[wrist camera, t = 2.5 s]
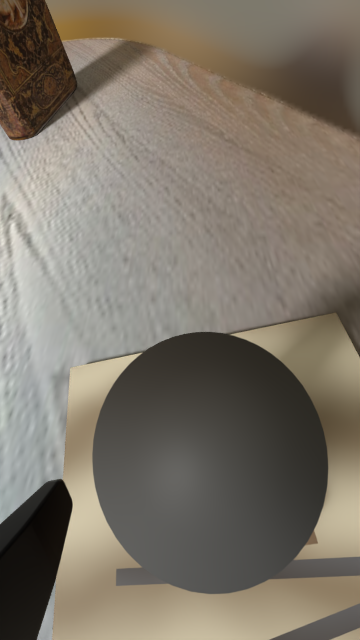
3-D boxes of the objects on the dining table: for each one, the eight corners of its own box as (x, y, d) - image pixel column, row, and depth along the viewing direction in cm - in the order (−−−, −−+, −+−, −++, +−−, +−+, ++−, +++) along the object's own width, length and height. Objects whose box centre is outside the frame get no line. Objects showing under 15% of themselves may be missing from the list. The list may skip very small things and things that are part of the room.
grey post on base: (305, 532, 12) (764, 938, 2) (177, 551, 12) (-82, 968, 2) (260, 383, 16) (317, 218, 5) (161, 402, 16) (33, 284, 6)
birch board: (813, 1269, 6) (918, 1413, 5) (33, 1232, 7) (4, 1341, 6) (330, 320, 18) (335, 312, 17) (77, 372, 19) (70, 367, 18)
